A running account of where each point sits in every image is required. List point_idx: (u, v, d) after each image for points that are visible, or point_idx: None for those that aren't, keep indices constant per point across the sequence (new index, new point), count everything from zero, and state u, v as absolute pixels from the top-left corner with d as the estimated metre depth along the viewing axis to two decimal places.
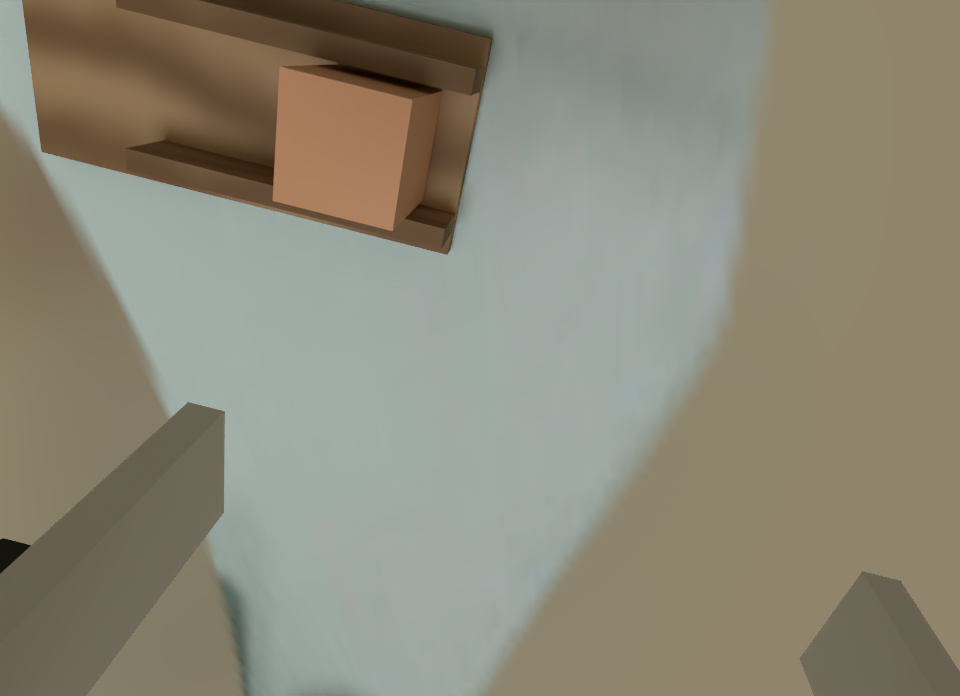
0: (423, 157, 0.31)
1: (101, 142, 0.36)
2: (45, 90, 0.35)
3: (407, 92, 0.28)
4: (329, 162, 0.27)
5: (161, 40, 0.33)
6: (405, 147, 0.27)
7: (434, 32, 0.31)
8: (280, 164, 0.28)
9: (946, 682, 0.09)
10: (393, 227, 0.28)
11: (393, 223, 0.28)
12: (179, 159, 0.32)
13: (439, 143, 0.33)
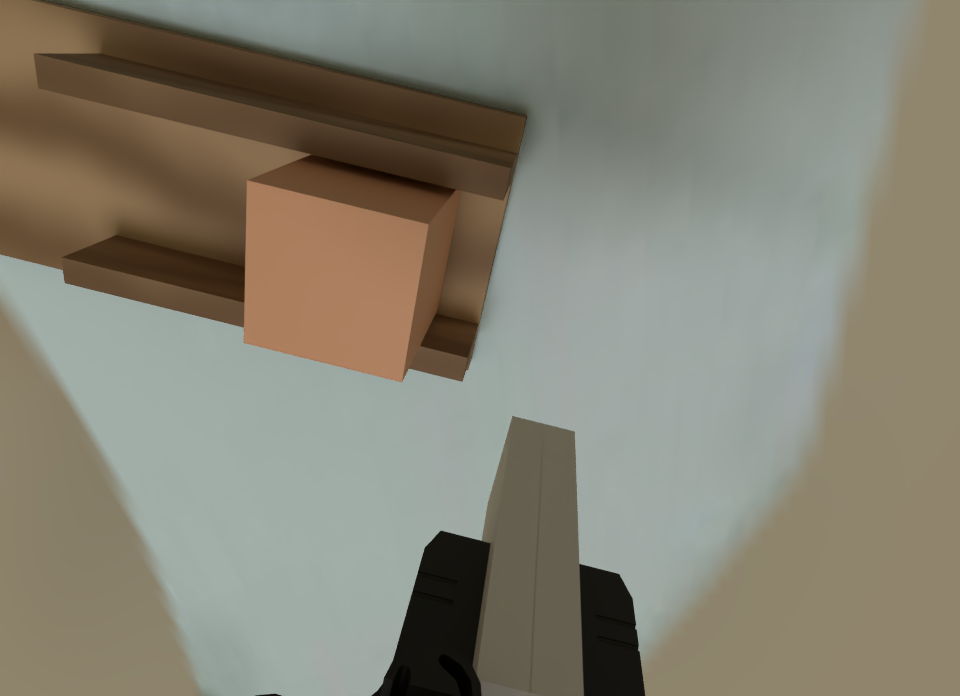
0: (439, 268, 0.24)
1: (40, 237, 0.29)
2: None
3: (420, 202, 0.21)
4: (317, 298, 0.20)
5: (107, 118, 0.26)
6: (419, 282, 0.20)
7: (453, 110, 0.24)
8: (252, 300, 0.21)
9: (557, 488, 0.12)
10: (403, 376, 0.21)
11: (403, 373, 0.21)
12: (130, 269, 0.26)
13: (459, 242, 0.26)
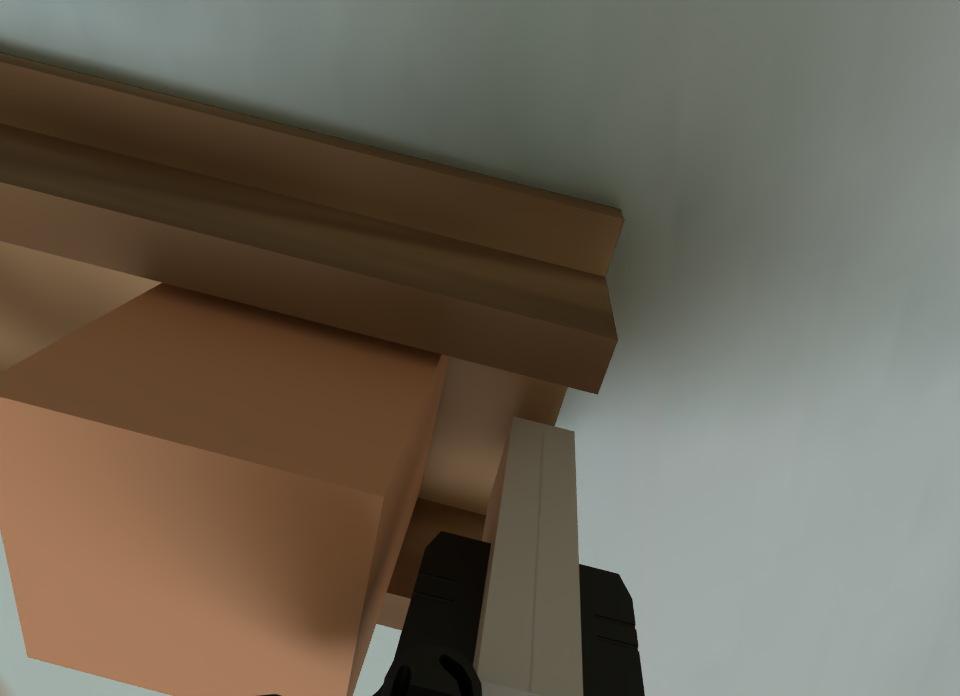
0: (419, 463, 0.14)
1: None
2: None
3: (375, 399, 0.10)
4: (157, 603, 0.10)
5: None
6: (366, 591, 0.09)
7: (493, 202, 0.13)
8: (29, 595, 0.10)
9: (557, 488, 0.12)
10: None
11: None
12: None
13: (494, 408, 0.16)
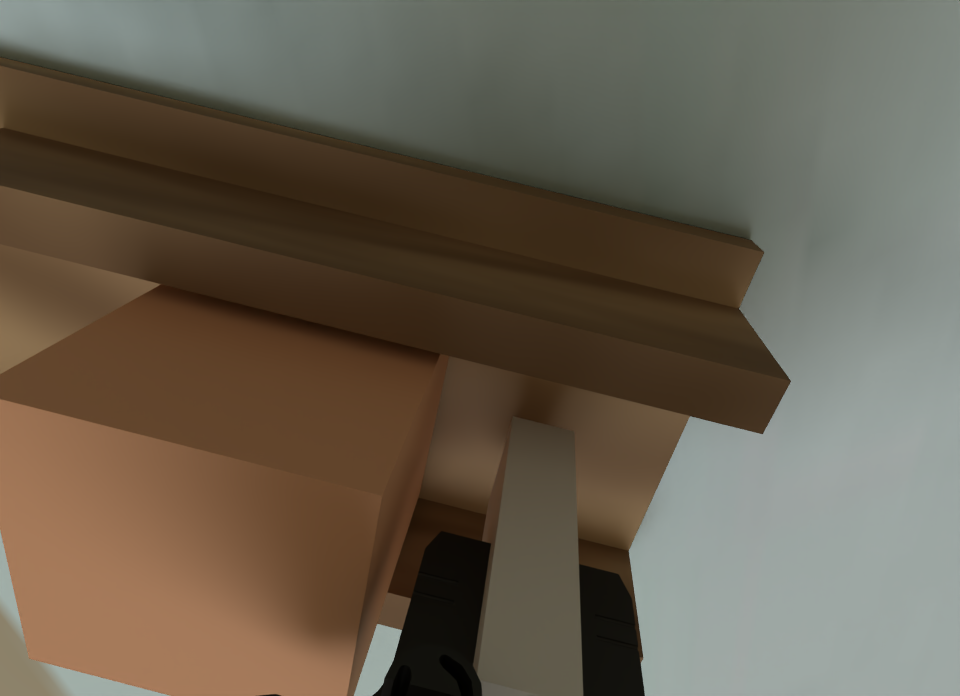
0: (419, 462, 0.14)
1: None
2: None
3: (374, 399, 0.10)
4: (157, 603, 0.10)
5: None
6: (365, 590, 0.09)
7: (630, 235, 0.13)
8: (30, 596, 0.10)
9: (557, 488, 0.12)
10: None
11: None
12: None
13: (612, 437, 0.16)
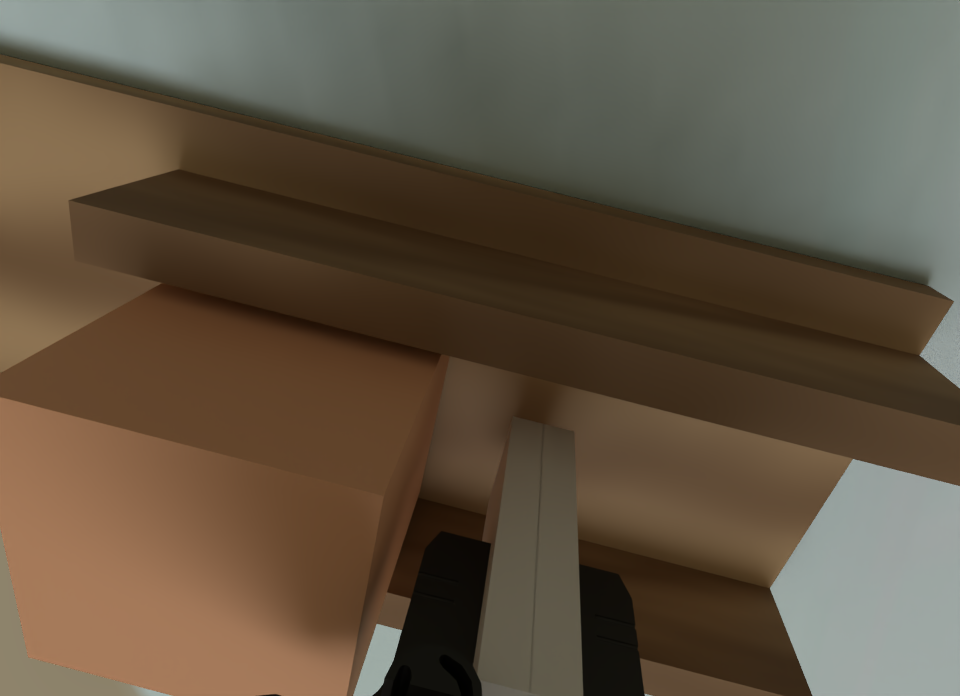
0: (419, 462, 0.14)
1: None
2: None
3: (375, 399, 0.10)
4: (157, 603, 0.10)
5: None
6: (366, 590, 0.09)
7: (817, 283, 0.13)
8: (30, 595, 0.10)
9: (557, 488, 0.12)
10: None
11: None
12: None
13: (769, 478, 0.16)
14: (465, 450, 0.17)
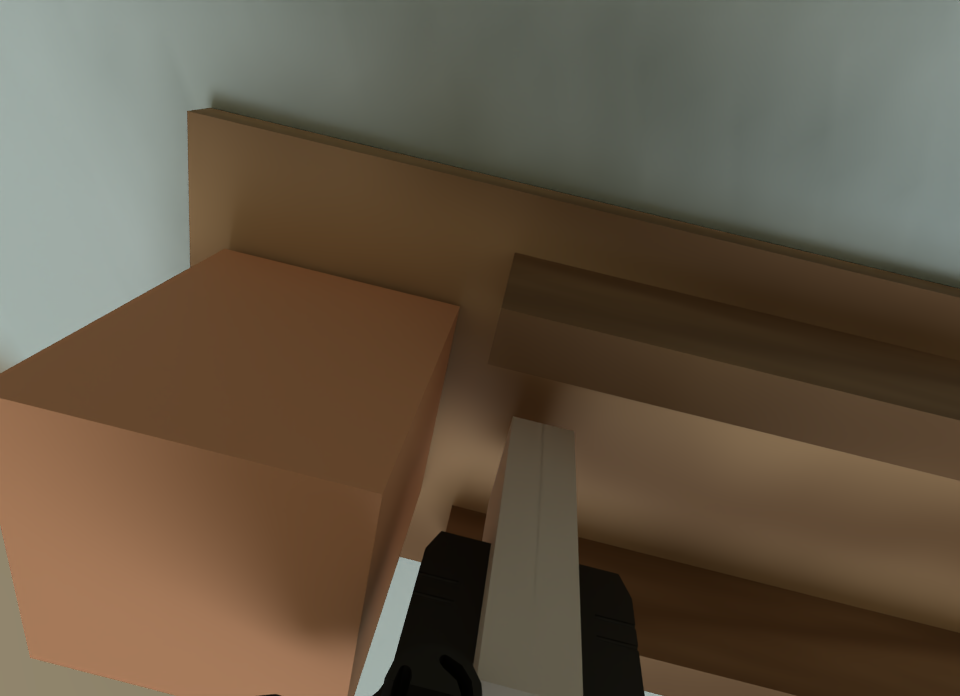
0: (419, 461, 0.14)
1: None
2: None
3: (374, 398, 0.10)
4: (157, 603, 0.10)
5: None
6: (366, 589, 0.09)
7: None
8: (31, 596, 0.10)
9: (556, 488, 0.12)
10: None
11: None
12: None
13: None
14: (753, 521, 0.16)
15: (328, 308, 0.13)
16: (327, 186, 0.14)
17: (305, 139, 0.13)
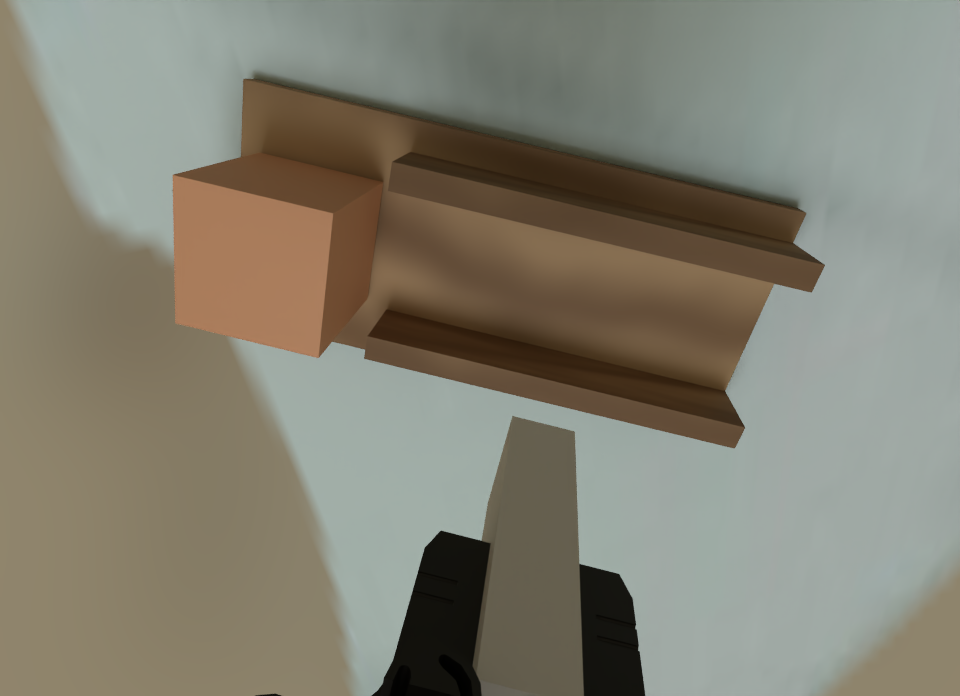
0: (361, 259, 0.27)
1: None
2: None
3: (333, 197, 0.23)
4: (238, 281, 0.23)
5: (403, 207, 0.28)
6: (328, 266, 0.22)
7: (738, 205, 0.26)
8: (181, 283, 0.23)
9: (557, 488, 0.12)
10: (319, 353, 0.24)
11: (319, 349, 0.24)
12: (427, 346, 0.28)
13: (720, 319, 0.29)
14: (552, 309, 0.29)
15: (314, 174, 0.26)
16: (314, 117, 0.27)
17: (303, 93, 0.26)
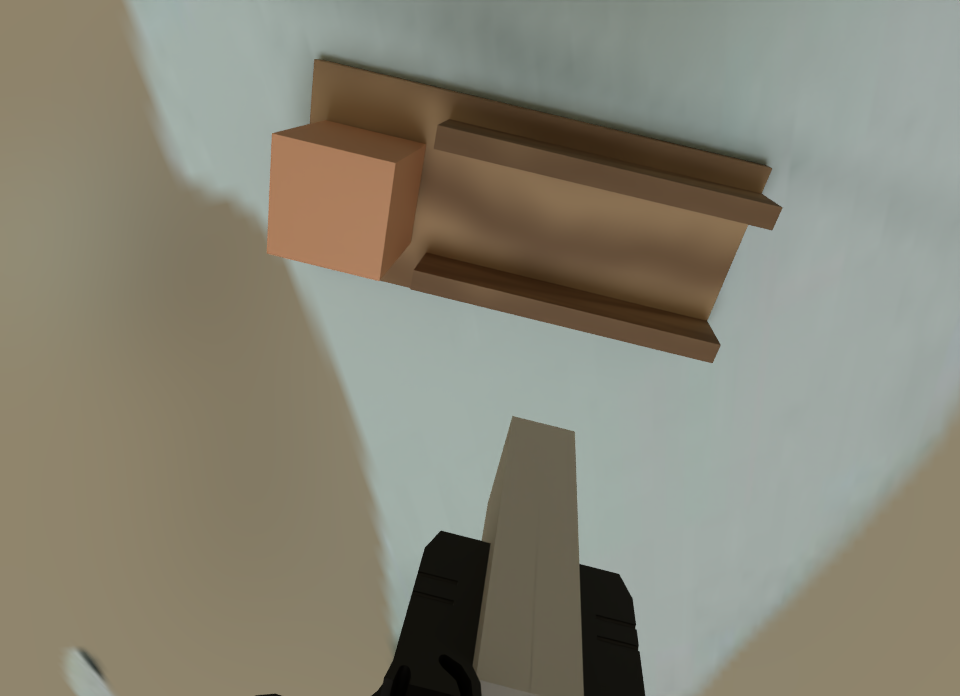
0: (409, 207, 0.33)
1: None
2: None
3: (391, 152, 0.29)
4: (319, 218, 0.29)
5: (441, 165, 0.34)
6: (389, 205, 0.28)
7: (717, 162, 0.32)
8: (273, 220, 0.29)
9: (557, 488, 0.12)
10: (380, 277, 0.30)
11: (380, 273, 0.30)
12: (461, 278, 0.34)
13: (703, 258, 0.35)
14: (563, 251, 0.36)
15: (372, 137, 0.32)
16: (371, 90, 0.33)
17: (362, 70, 0.33)
